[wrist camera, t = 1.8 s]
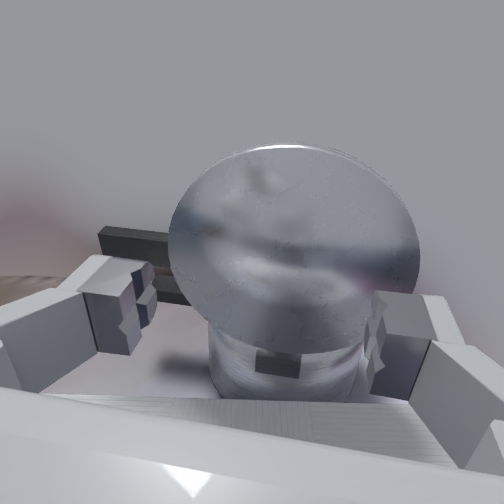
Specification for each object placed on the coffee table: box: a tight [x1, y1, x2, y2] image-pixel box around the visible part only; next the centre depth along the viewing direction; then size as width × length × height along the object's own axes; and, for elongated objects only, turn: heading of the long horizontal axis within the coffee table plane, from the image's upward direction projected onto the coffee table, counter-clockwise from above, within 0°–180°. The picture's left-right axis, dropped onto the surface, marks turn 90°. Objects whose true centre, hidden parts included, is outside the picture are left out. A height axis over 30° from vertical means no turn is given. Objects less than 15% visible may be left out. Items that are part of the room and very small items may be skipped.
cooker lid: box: [98, 142, 420, 354], centre depth 28 cm, size 18×24×1 cm
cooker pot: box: [151, 275, 364, 403], centre depth 44 cm, size 19×25×12 cm
